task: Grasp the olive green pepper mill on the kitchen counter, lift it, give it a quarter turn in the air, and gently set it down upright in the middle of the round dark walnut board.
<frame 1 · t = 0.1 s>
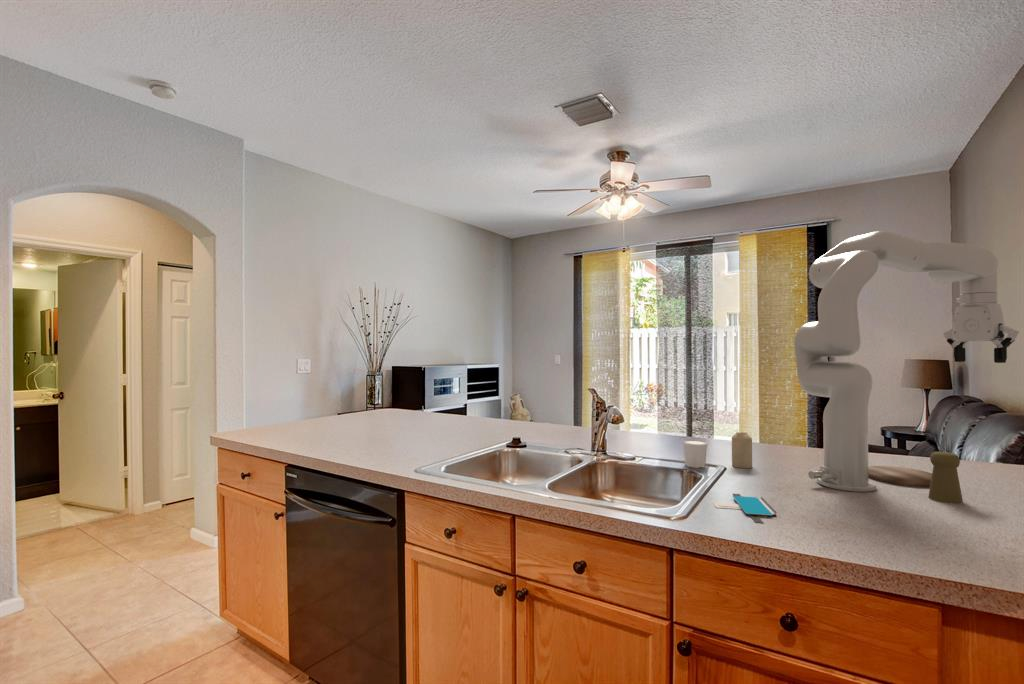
hand: (979, 362, 136), 31 cm above the worktop, fingers open, 9 cm apart
white cup: (695, 466, 148), on the worktop
olive green pepper mill: (945, 500, 114), on the worktop
candle: (742, 466, 147), on the worktop
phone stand: (743, 510, 109), on the worktop
walnut board: (900, 478, 132), on the worktop
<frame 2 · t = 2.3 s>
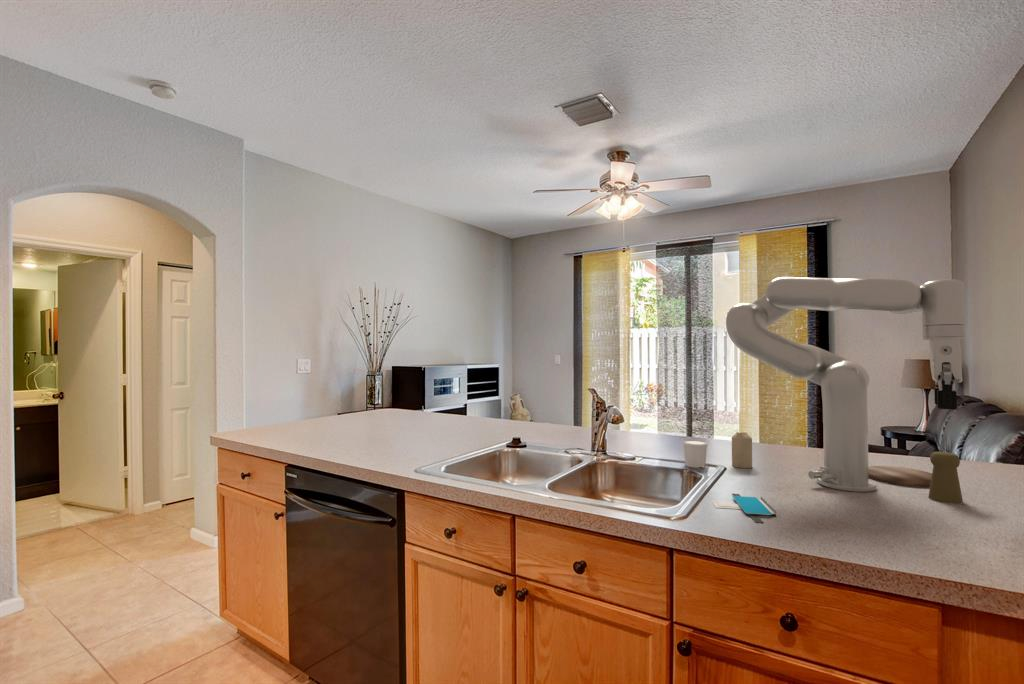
hand: (945, 406, 114), 22 cm above the worktop, fingers open, 9 cm apart
nothing on the worktop moved.
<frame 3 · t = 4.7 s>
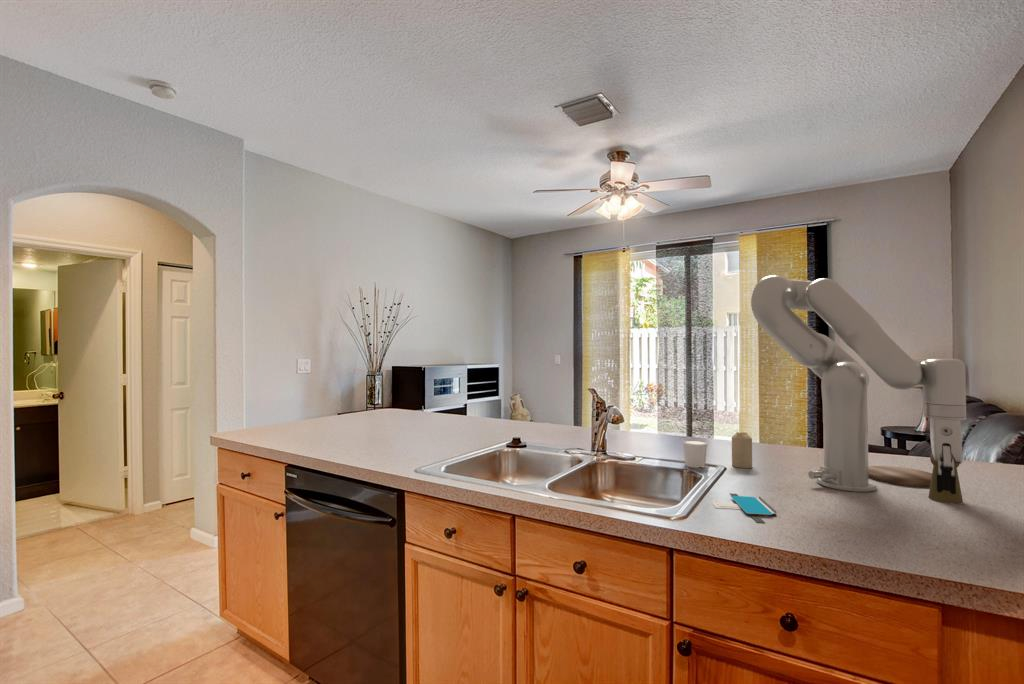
hand: (945, 489, 114), 2 cm above the worktop, fingers closed on olive green pepper mill, 3 cm apart
olive green pepper mill: (945, 500, 114), on the worktop, touching gripper
everything else where it was.
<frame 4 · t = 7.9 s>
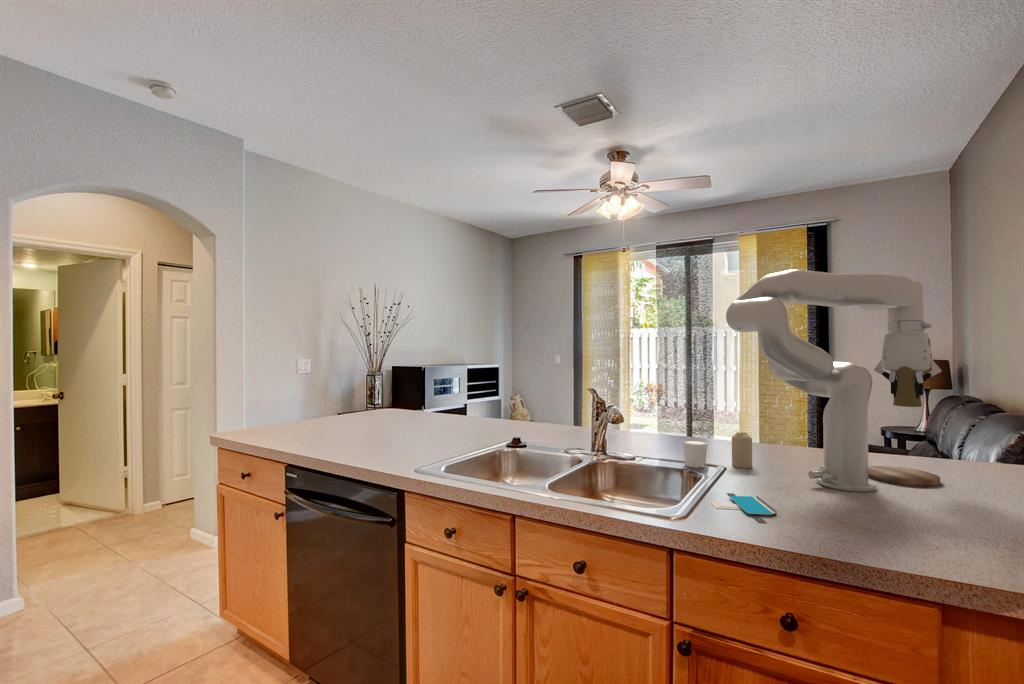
hand: (907, 396, 130), 22 cm above the worktop, fingers closed on olive green pepper mill, 3 cm apart
olive green pepper mill: (907, 406, 130), point 20 cm above the worktop, touching gripper
everything else where it was.
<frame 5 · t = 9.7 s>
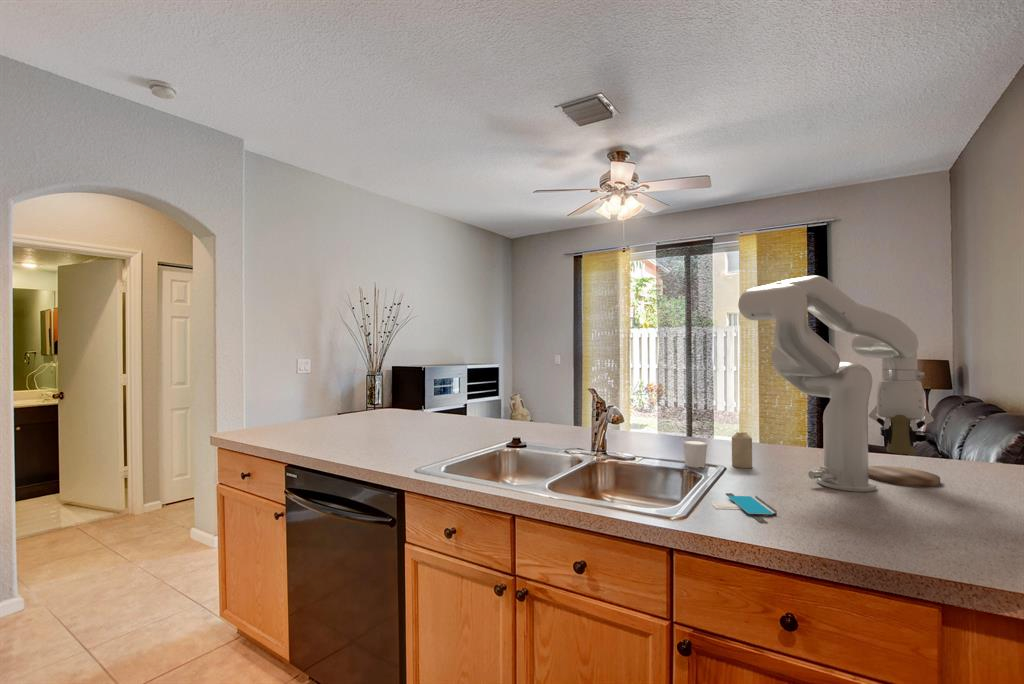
hand: (900, 443, 132), 9 cm above the worktop, fingers closed on olive green pepper mill, 3 cm apart
olive green pepper mill: (900, 452, 132), point 7 cm above the worktop, touching gripper
everything else where it was.
when the fingers open (4 cm above the worktop, at t = 11.2 s): olive green pepper mill stays where it is, resting on walnut board.
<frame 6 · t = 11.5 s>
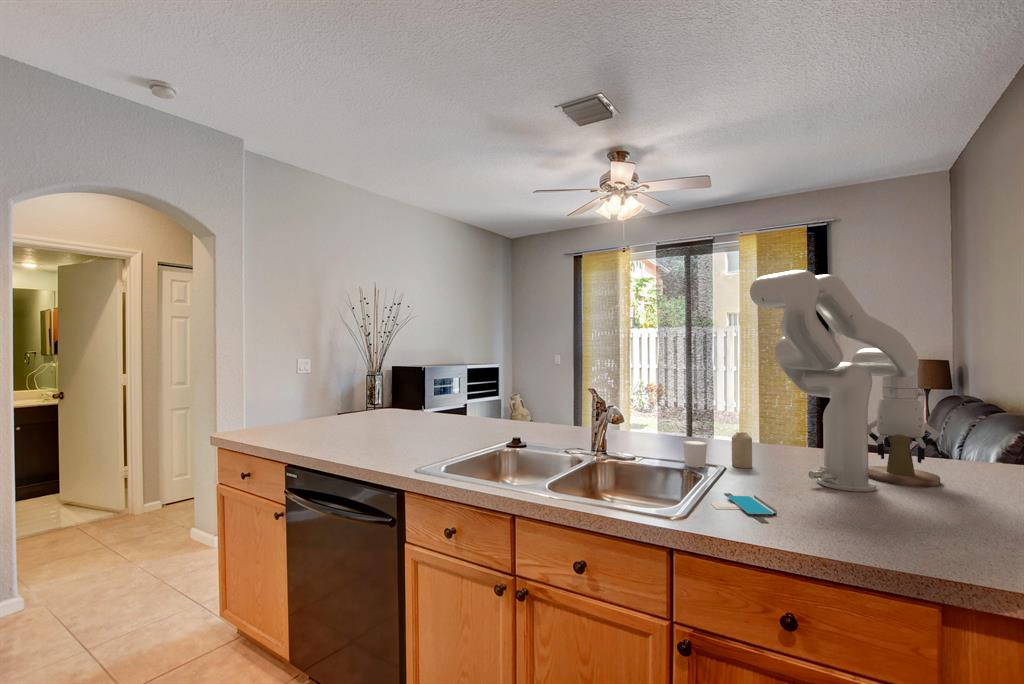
hand: (900, 459, 132), 5 cm above the worktop, fingers open, 7 cm apart
olive green pepper mill: (900, 473, 132), point 1 cm above the worktop, touching walnut board
everything else where it was.
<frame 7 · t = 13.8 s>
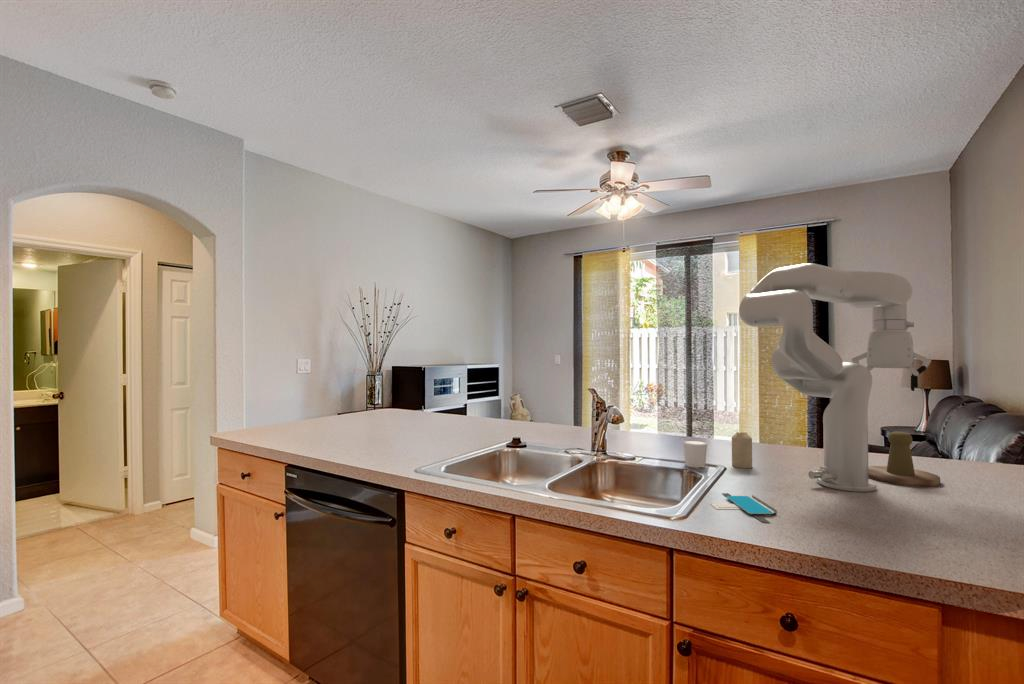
hand: (890, 389, 134), 24 cm above the worktop, fingers open, 9 cm apart
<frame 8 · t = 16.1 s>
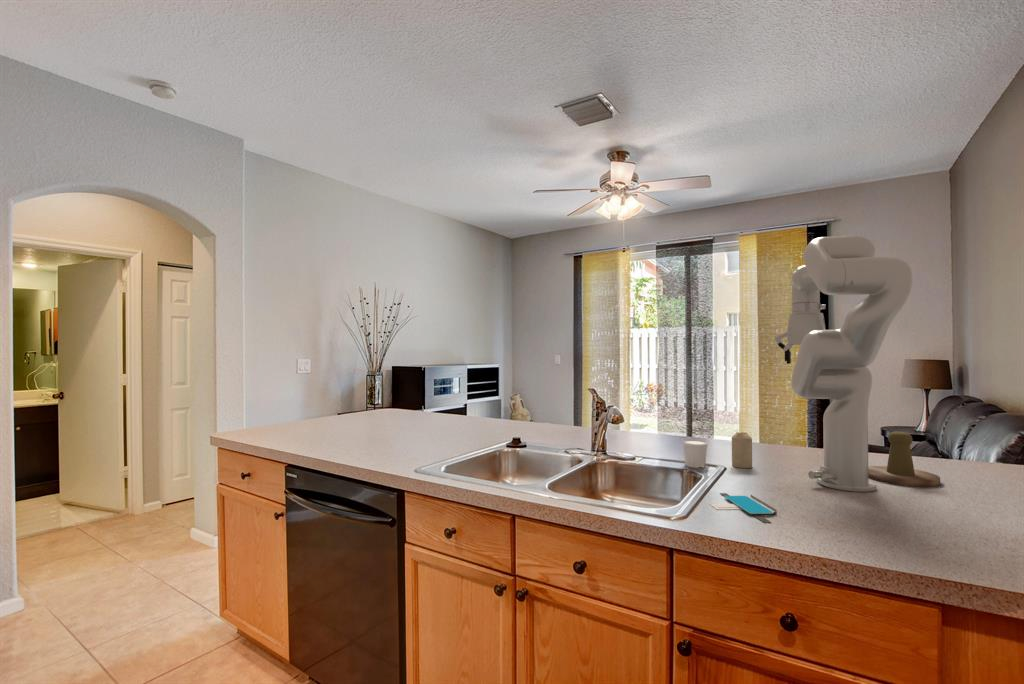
hand: (806, 363, 153), 30 cm above the worktop, fingers open, 9 cm apart
at the end: olive green pepper mill inside the target area on the walnut board (0.1 cm from its centre), point 1.3 cm above the walnut board's base; olive green pepper mill tilted 0°; the gripper is holding nothing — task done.
